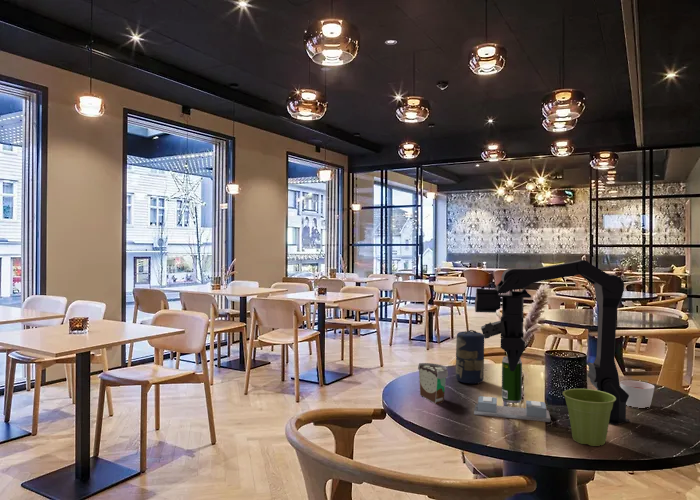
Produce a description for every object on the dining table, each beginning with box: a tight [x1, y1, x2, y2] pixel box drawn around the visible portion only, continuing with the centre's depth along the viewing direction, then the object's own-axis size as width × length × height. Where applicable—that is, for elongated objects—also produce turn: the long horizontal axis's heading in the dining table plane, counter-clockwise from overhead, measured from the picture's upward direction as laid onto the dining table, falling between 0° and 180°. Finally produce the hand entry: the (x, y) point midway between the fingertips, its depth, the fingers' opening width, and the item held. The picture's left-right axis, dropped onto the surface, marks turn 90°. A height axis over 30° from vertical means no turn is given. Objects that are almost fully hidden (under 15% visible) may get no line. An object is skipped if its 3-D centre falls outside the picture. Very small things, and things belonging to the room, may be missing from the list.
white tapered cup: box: [619, 380, 655, 409], centre depth 154 cm, size 9×9×6 cm
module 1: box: [477, 395, 498, 412], centre depth 146 cm, size 5×6×3 cm
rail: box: [473, 403, 551, 423], centre depth 144 cm, size 20×7×1 cm, turn 73°
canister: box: [455, 329, 485, 384], centre depth 179 cm, size 10×10×18 cm
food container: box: [417, 362, 449, 405], centre depth 158 cm, size 12×6×10 cm, turn 22°
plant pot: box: [562, 388, 616, 447], centre depth 125 cm, size 12×12×11 cm
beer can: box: [501, 355, 523, 404], centre depth 144 cm, size 5×5×12 cm
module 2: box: [525, 399, 547, 417], centre depth 143 cm, size 5×6×3 cm
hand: (512, 368), depth 144 cm, fingers closed on beer can, 5 cm apart
